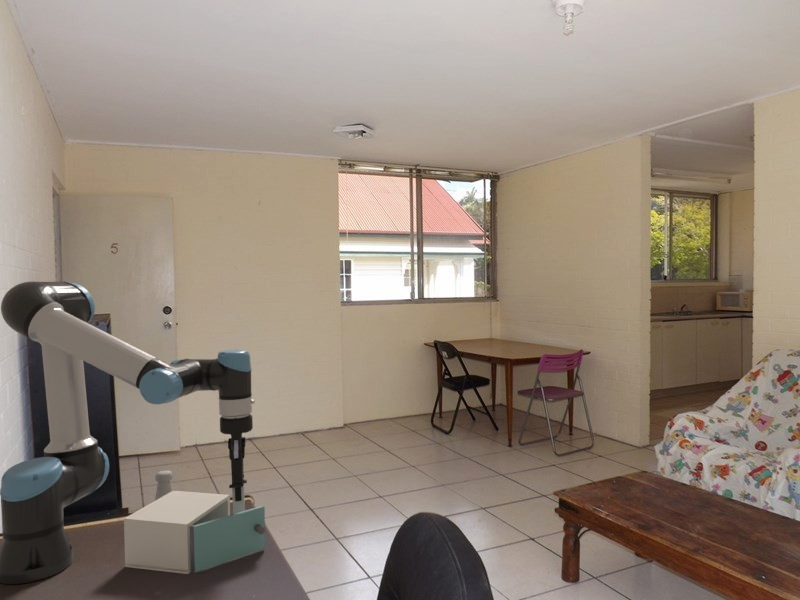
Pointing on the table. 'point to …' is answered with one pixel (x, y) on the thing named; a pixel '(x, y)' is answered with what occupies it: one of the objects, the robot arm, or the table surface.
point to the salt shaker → (163, 483)
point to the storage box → (169, 529)
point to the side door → (226, 538)
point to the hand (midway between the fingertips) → (238, 512)
